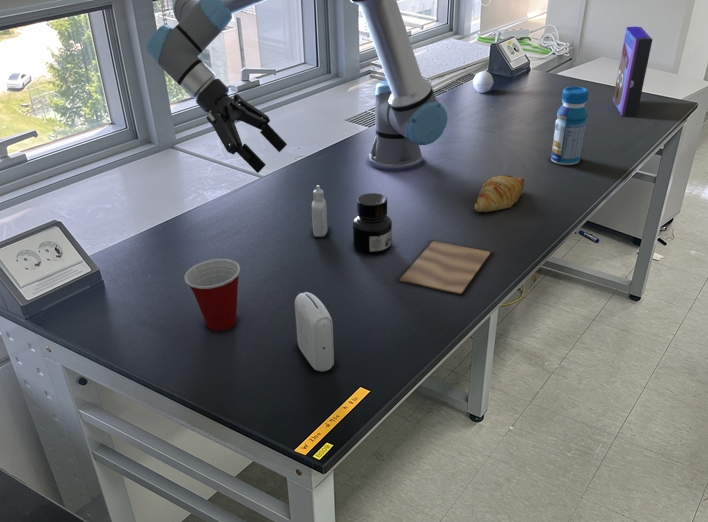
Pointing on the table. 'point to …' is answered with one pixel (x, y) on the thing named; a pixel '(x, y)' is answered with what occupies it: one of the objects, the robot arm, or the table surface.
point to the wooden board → (446, 267)
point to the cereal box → (632, 71)
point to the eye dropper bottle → (319, 213)
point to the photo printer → (314, 331)
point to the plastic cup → (215, 291)
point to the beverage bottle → (570, 126)
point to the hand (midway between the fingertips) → (273, 158)
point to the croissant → (499, 193)
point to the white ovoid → (483, 82)
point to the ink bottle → (372, 225)
